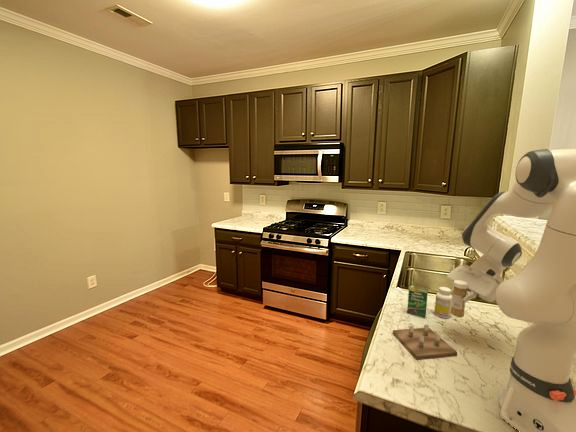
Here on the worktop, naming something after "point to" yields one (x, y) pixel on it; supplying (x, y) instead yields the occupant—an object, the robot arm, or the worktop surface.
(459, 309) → the sprinkles bottle
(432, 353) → the pin board
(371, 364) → the worktop surface
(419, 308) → the coffee box
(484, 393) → the worktop surface
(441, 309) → the supplement bottle
